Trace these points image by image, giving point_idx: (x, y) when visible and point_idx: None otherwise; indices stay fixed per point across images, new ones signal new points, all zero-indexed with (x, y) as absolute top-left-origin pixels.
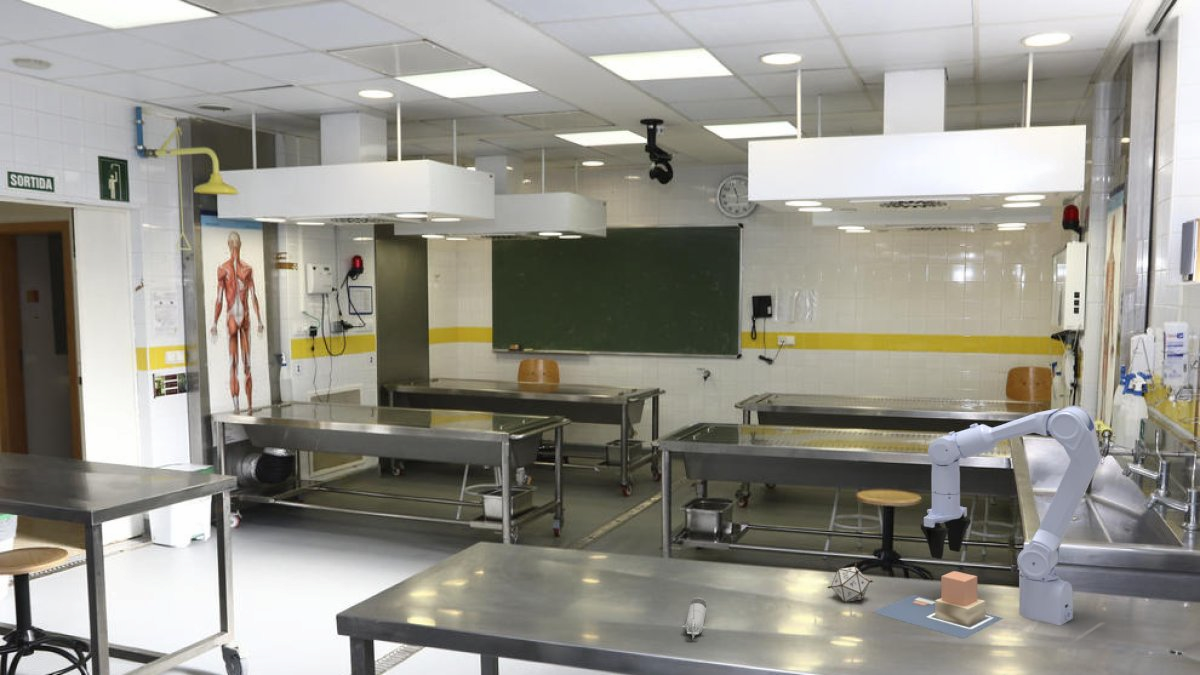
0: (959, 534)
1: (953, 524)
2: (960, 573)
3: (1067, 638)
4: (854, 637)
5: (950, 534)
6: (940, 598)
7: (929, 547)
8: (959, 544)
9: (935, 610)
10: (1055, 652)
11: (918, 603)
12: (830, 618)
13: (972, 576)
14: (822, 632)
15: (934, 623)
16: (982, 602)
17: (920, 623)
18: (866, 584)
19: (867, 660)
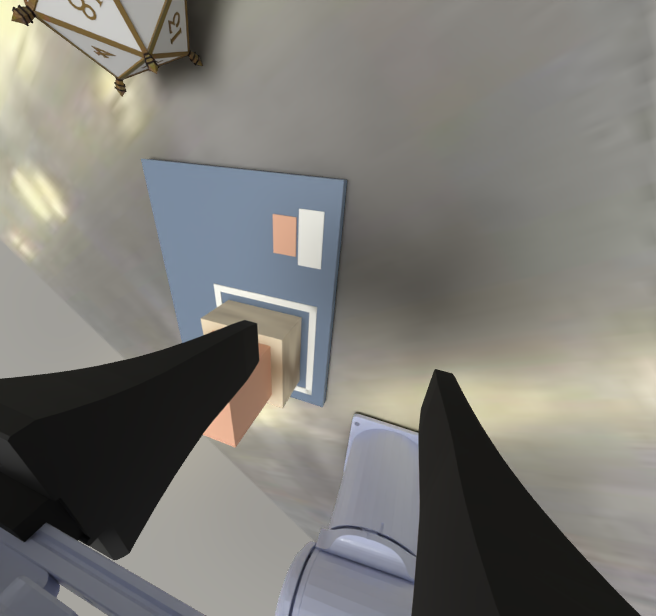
0: (421, 523)
1: (439, 605)
2: (222, 411)
3: (320, 474)
4: (58, 198)
5: (442, 463)
6: (221, 325)
7: (200, 338)
8: (420, 451)
9: (217, 307)
10: (258, 456)
11: (276, 233)
12: (58, 74)
13: (225, 437)
14: (13, 125)
15: (201, 308)
16: (270, 403)
17: (179, 285)
18: (134, 61)
19: (38, 263)
